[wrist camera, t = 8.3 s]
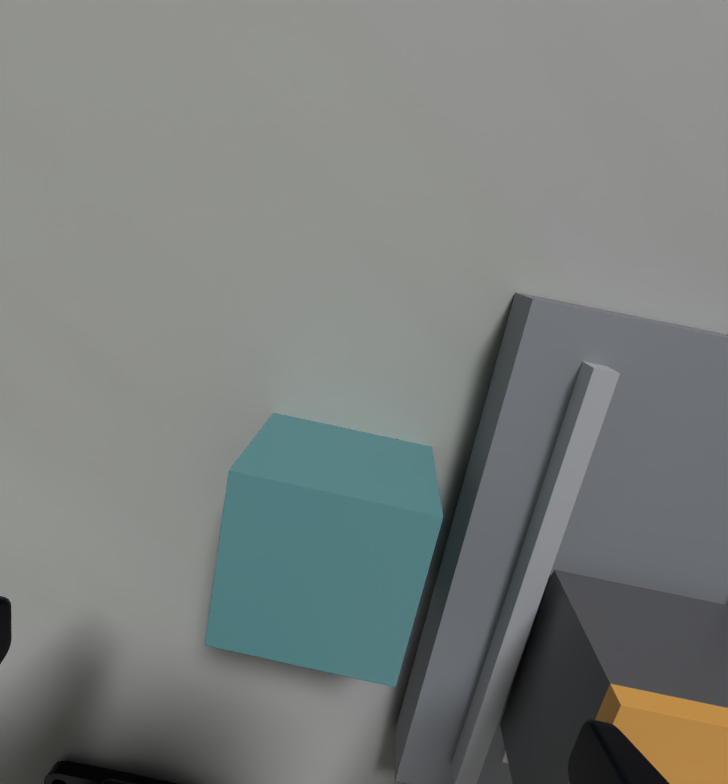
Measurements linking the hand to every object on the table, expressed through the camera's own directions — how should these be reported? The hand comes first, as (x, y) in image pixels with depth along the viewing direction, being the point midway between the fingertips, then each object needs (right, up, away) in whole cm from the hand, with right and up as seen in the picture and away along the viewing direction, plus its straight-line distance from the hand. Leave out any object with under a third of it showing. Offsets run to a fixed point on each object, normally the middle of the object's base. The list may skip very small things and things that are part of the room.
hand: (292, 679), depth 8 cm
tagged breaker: (+7, -2, +4) cm, 8 cm away
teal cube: (0, +2, +5) cm, 6 cm away
